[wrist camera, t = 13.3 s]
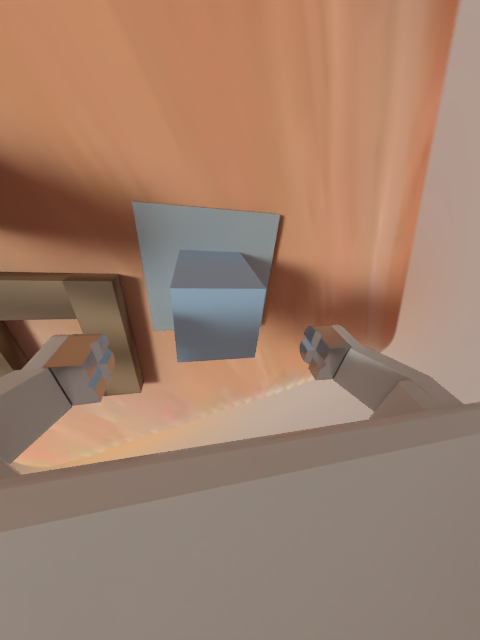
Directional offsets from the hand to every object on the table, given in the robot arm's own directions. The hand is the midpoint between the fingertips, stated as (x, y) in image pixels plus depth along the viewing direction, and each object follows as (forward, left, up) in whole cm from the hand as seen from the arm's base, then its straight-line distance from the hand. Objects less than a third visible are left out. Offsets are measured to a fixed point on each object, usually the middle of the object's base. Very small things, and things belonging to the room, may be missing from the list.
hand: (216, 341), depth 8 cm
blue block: (+1, 0, -9) cm, 9 cm away
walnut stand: (+7, -13, -10) cm, 17 cm away
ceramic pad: (+1, 0, -10) cm, 10 cm away
